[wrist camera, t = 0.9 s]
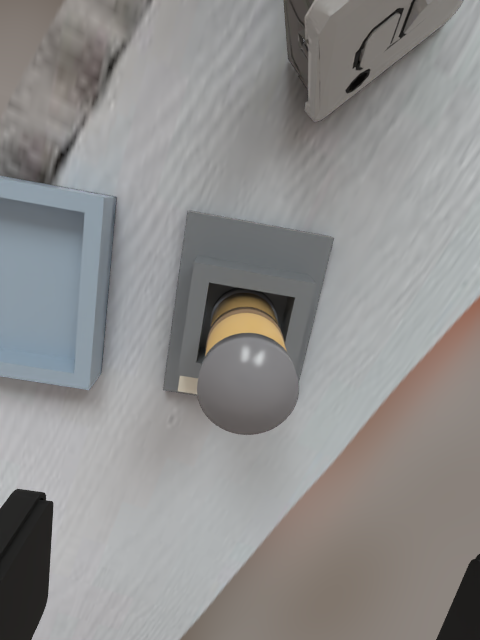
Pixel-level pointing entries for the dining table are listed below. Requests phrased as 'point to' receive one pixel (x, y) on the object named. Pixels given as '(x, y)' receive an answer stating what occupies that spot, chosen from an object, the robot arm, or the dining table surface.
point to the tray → (53, 282)
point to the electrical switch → (354, 42)
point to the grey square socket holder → (242, 285)
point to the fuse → (246, 366)
